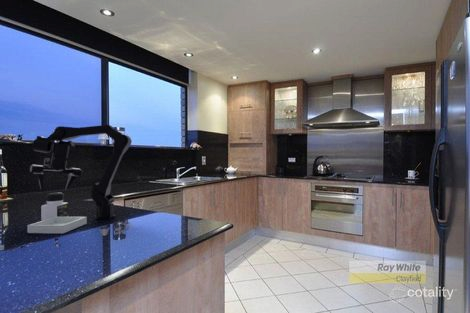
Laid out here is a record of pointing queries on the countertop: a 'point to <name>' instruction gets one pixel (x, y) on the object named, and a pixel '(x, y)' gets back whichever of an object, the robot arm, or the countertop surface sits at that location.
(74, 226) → the grey square tray
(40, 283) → the countertop surface
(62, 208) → the medicine bottle
